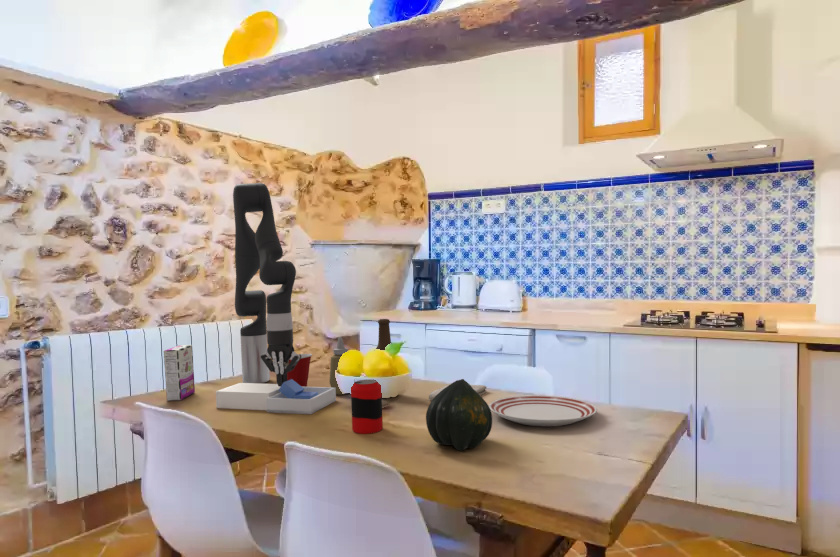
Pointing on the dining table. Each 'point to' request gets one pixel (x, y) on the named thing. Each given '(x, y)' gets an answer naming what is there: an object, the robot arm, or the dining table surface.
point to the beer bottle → (383, 334)
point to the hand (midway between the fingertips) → (282, 385)
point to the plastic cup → (300, 370)
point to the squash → (459, 416)
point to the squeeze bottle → (336, 364)
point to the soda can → (366, 407)
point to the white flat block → (246, 396)
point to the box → (302, 401)
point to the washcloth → (478, 388)
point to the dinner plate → (542, 410)
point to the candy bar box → (179, 372)
